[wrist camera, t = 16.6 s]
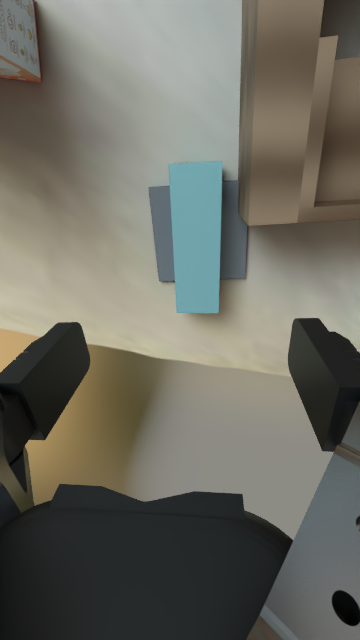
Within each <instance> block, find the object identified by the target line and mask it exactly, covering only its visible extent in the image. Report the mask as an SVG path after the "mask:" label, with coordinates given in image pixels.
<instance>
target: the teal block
mask: <svg viewBox="0 0 360 640" xmlns="http://www.w3.org/2000/svg"><path fill="white" fill-rule="evenodd" d="M169 181H170V199H171V217H172V235H173V254H174V272H175V290H176V308H177V313H219V280H220V240H221V200H222V161H214V162H197V163H179V164H169Z"/></svg>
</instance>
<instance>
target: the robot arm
mask: <svg viewBox="0 0 360 640" xmlns="http://www.w3.org/2000/svg"><path fill="white" fill-rule="evenodd" d="M89 366H90V355H89V351H88V348H87V344H86V340H85V337H84V333H83V330H82V327H81V325H80V324H79V323H78V322H65V323H57V324H56V325H55V326H54V327H52V328H51V329H50V330H49V331H48V332H47V333H46V334H45V335H44V336H43V337H41V338H39V339H38V340H36V341H34V342H32V343H31V344H30V345H29V346H28V347H27V348H26V349H25V350H24V352H23V353H21V354H20V355H19V356H18V357H16V360H13V361H12V362H11V363H10V364H9V365H8V366H7V367H6V368H5V369H4V370H3V371H2V372H1V373H0V640H360V353H359V352H358V351H357V349H356V348H355V347H354V346H353V345H352V343H351V342H350V341H349V340H348V339H346V338H345V337H343V336H341V335H340V334H338V333H336V332H329V331H328V330H327V328H326V327H325V326H324V324H323V323H322V322H321V320H320V319H318V318H296V319H294V321H293V325H292V332H291V339H290V346H289V353H288V366H289V370H290V373H291V376H292V378H293V381H294V383H295V386H296V388H297V390H298V393H299V395H300V398H301V400H302V403H303V405H304V407H305V410H306V412H307V415H308V417H309V420H310V422H311V424H312V427H313V429H314V432H315V434H316V436H317V439H318V441H319V444H320V446H321V449H322V451H332V452H334V453H333V456H332V458H331V460H330V462H329V464H328V466H327V469H326V471H325V473H324V475H323V477H322V479H321V482H320V484H319V486H318V488H317V490H316V493H315V495H314V497H313V499H312V501H311V503H310V506H309V508H308V510H307V512H306V515H305V517H304V519H303V521H302V523H301V525H300V528H299V530H298V532H297V534H296V536H295V539H294V541H293V540H292V539H291V538H290V537H289V536H287V535H286V534H285V533H284V532H282V531H281V530H280V529H279V528H277V527H276V526H274V525H273V524H271V523H269V522H268V521H267V520H265V519H263V518H261V517H259V516H257V515H255V514H253V513H250V512H247V511H244V506H243V495H242V494H231V493H212V492H190V493H185V494H181V495H177V496H172V497H167V498H163V499H158V500H154V501H149V502H143V501H139V500H137V499H134V498H131V497H128V496H126V495H123V494H121V493H118V492H115V491H113V490H110V489H107V488H105V487H102V486H86V485H68V484H60V485H59V486H58V488H57V490H56V492H55V494H54V497H53V499H52V500H51V501H48V502H44V503H42V504H39V505H36V506H35V505H34V500H33V492H32V485H31V476H30V467H29V460H28V452H27V450H26V448H25V444H26V443H27V442H28V440H45V439H46V438H47V436H48V434H49V433H50V431H51V430H52V428H53V426H54V424H55V423H56V421H57V420H58V418H59V417H60V415H61V413H62V412H63V410H64V409H65V407H66V405H67V404H68V402H69V400H70V399H71V397H72V396H73V394H74V392H75V391H76V389H77V388H78V386H79V384H80V383H81V381H82V380H83V378H84V376H85V375H86V373H87V371H88V369H89Z"/></svg>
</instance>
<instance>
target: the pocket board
mask: <svg viewBox="0 0 360 640" xmlns="http://www.w3.org/2000/svg"><path fill="white" fill-rule="evenodd" d="M323 6H324V0H243V1H242V43H241V84H240V125H239V166H238V180H239V190H238V214H239V215H240V216H241V217H242V219H243V220H244V221H245V222H246V223H247V225H248V226H254V225H271V224H288V223H305V222H322V221H338V220H355V219H360V57H352V58H344V59H336V60H335V55H336V48H337V41H338V35H336V36H329V37H321V38H320V30H321V22H322V14H323Z"/></svg>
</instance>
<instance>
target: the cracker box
mask: <svg viewBox="0 0 360 640" xmlns="http://www.w3.org/2000/svg"><path fill="white" fill-rule="evenodd" d="M0 77H1V78H8V79H16V80H23V81H30V82H39V83H41V82H42V80H41V69H40V58H39V47H38V37H37V27H36V16H35V7H34V0H0Z"/></svg>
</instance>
